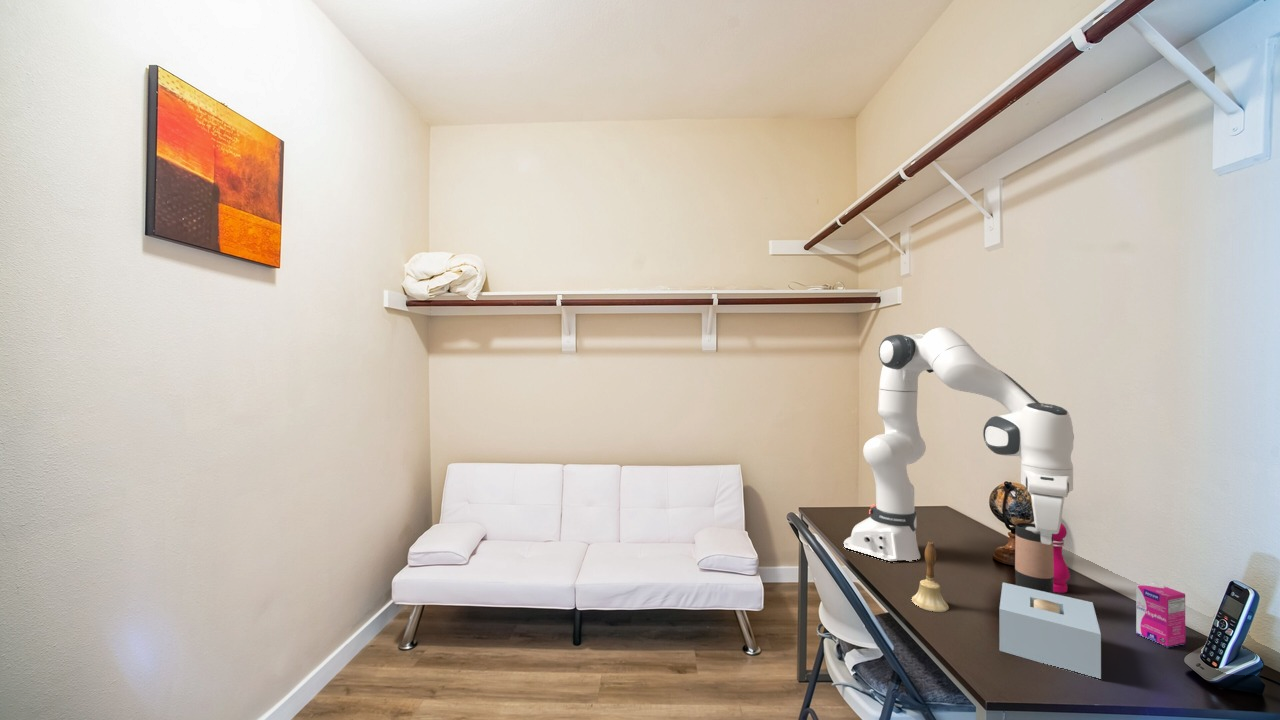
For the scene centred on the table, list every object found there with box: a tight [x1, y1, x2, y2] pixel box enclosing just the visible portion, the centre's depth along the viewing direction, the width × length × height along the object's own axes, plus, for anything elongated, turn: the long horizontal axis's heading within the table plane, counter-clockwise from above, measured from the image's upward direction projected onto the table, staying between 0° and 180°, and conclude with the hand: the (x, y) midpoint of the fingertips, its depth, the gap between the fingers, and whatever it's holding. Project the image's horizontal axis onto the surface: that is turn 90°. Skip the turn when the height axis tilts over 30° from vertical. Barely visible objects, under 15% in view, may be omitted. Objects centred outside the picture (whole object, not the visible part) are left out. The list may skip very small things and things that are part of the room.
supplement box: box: [1135, 581, 1186, 647], centre depth 110 cm, size 6×6×12 cm
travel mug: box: [1014, 522, 1054, 594], centre depth 125 cm, size 8×8×20 cm
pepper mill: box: [1053, 523, 1071, 594], centre depth 135 cm, size 7×7×20 cm
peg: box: [1034, 599, 1060, 614], centre depth 108 cm, size 4×4×8 cm
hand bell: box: [910, 540, 950, 613], centre depth 126 cm, size 8×8×16 cm
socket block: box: [998, 582, 1102, 680], centre depth 108 cm, size 16×16×9 cm
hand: (1045, 542), depth 108 cm, fingers closed
